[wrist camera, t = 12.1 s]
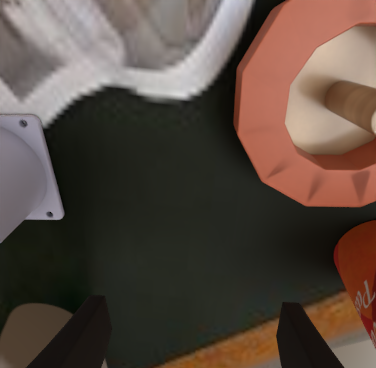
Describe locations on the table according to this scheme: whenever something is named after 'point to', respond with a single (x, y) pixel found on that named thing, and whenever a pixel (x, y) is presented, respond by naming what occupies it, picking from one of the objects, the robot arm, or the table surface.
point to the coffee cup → (360, 271)
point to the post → (335, 95)
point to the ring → (278, 100)
